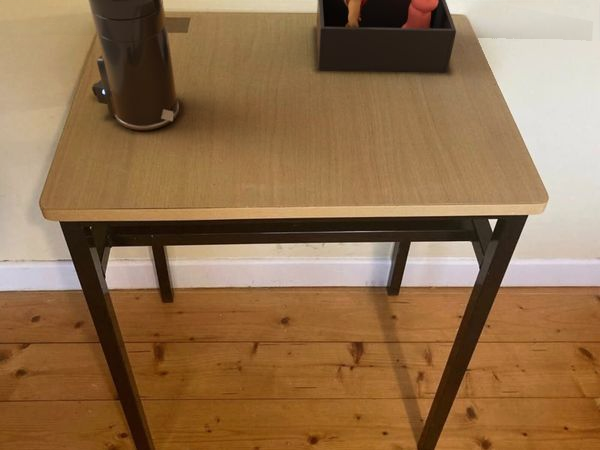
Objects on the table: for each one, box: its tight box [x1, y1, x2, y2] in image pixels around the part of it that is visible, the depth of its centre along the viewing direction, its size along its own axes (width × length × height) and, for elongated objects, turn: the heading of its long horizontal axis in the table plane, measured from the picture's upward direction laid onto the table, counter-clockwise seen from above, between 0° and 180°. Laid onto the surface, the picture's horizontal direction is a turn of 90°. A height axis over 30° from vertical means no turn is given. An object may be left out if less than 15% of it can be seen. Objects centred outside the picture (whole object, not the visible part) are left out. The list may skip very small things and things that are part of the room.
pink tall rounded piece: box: [402, 0, 438, 29], centre depth 101 cm, size 5×5×15 cm
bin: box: [316, 0, 457, 73], centre depth 104 cm, size 21×13×8 cm, turn 91°
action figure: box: [344, 0, 367, 27], centre depth 101 cm, size 10×4×15 cm, turn 4°
